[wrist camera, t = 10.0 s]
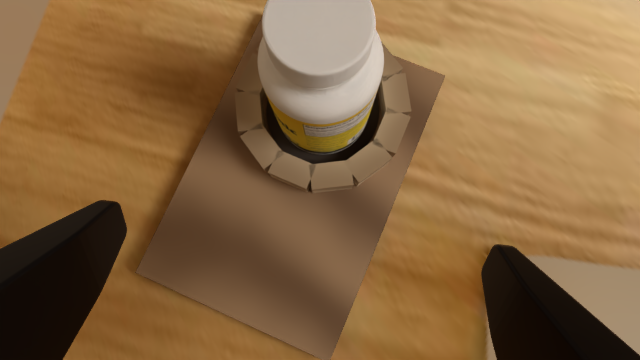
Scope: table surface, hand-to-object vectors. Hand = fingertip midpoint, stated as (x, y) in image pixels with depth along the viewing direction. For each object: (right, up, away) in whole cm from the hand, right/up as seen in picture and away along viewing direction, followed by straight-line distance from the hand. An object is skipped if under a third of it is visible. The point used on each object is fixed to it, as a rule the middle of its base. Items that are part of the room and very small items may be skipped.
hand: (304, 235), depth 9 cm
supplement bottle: (+1, +5, +14) cm, 15 cm away
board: (-1, +2, +14) cm, 14 cm away
